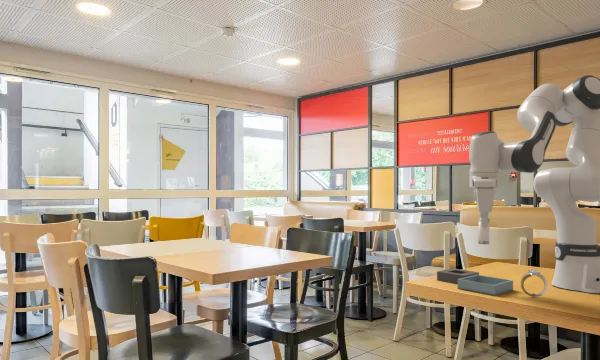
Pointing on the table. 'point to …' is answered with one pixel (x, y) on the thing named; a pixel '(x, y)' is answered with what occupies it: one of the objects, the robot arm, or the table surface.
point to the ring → (528, 274)
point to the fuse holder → (454, 275)
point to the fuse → (483, 233)
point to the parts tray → (485, 284)
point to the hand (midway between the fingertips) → (484, 225)
